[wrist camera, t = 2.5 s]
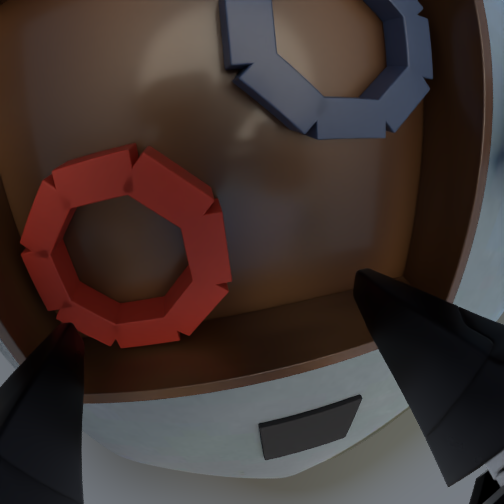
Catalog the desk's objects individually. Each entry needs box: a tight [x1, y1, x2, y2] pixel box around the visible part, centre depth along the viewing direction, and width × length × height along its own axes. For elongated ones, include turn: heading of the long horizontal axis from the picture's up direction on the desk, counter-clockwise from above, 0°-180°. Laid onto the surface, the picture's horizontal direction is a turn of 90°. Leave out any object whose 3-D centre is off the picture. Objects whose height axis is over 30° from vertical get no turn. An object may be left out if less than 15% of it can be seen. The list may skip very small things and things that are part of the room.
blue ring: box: [219, 0, 433, 140], centre depth 8 cm, size 9×9×2 cm
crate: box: [0, 0, 493, 404], centre depth 9 cm, size 22×20×5 cm
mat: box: [259, 395, 362, 460], centre depth 26 cm, size 10×10×1 cm
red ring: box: [20, 143, 232, 348], centre depth 11 cm, size 9×9×2 cm
